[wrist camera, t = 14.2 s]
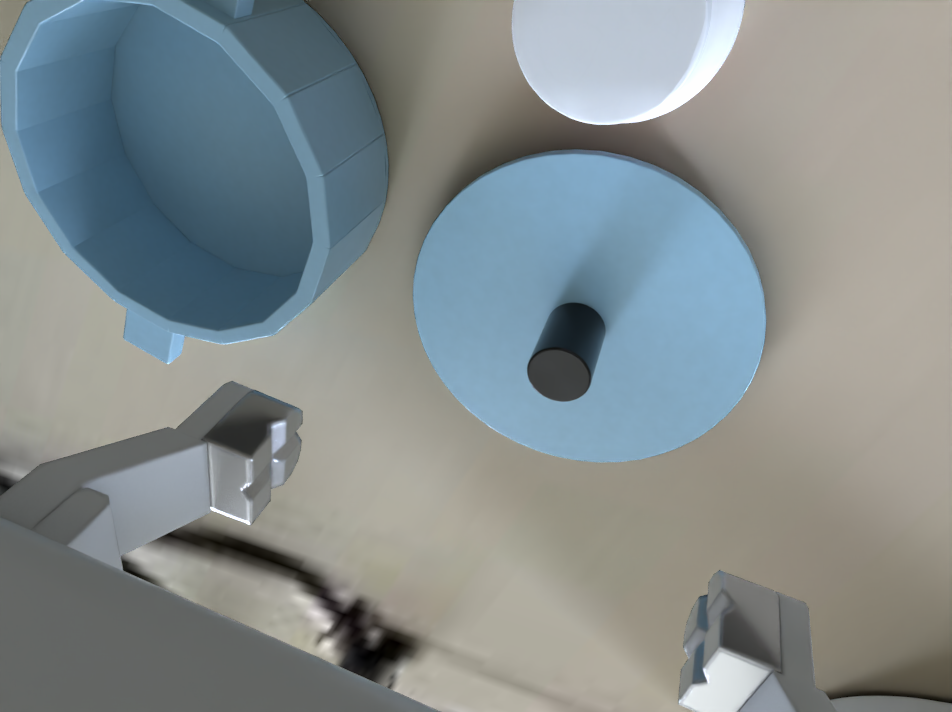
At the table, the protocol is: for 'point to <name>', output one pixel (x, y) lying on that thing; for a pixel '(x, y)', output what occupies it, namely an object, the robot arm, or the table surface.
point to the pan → (195, 157)
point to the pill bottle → (622, 53)
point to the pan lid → (589, 305)
